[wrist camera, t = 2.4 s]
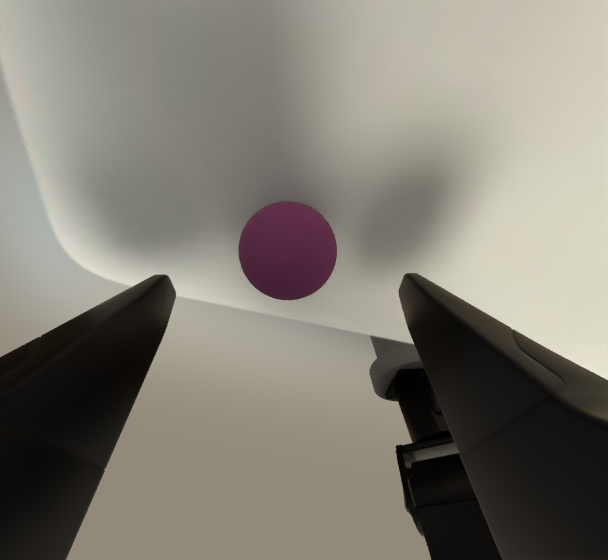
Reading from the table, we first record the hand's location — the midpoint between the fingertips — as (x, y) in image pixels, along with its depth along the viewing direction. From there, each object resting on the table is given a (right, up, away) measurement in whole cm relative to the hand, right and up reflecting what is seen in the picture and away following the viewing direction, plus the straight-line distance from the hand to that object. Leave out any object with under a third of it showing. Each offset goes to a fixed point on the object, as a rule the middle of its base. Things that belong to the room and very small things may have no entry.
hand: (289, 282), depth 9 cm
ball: (0, +1, +2) cm, 2 cm away
